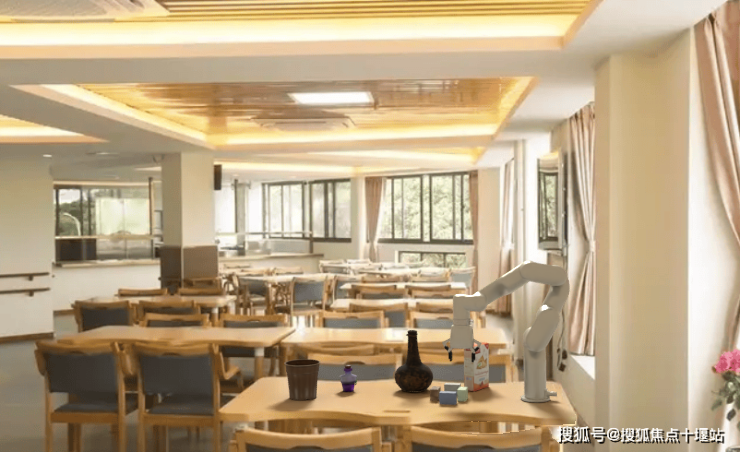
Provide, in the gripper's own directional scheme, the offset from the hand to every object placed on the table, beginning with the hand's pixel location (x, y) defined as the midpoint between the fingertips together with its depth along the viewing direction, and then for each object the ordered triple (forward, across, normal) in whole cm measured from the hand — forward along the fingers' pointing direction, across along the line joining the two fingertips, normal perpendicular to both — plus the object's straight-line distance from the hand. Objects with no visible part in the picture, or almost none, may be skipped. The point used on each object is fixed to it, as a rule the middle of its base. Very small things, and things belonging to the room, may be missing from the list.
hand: (461, 361), depth 366 cm
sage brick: (+17, 0, 0) cm, 17 cm away
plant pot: (+18, +71, +10) cm, 73 cm away
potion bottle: (+17, +55, -8) cm, 58 cm away
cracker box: (+17, -3, -24) cm, 29 cm away
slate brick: (+17, +6, -9) cm, 20 cm away
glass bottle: (+17, +25, -14) cm, 33 cm away
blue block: (+17, +5, +9) cm, 20 cm away
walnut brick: (+17, +12, +1) cm, 21 cm away
